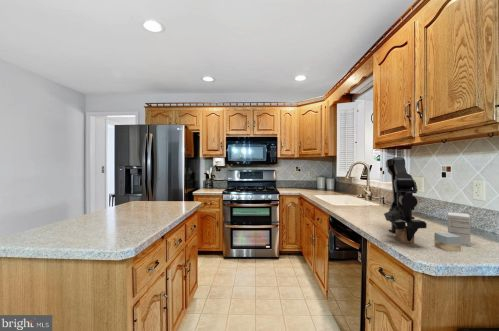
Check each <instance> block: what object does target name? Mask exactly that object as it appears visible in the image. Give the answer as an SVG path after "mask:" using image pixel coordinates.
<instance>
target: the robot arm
mask: <svg viewBox="0 0 499 331" xmlns="http://www.w3.org/2000/svg"><path fill="white" fill-rule="evenodd" d="M385 167H386V168H387V173H388V174H389V175H390V176H391V192H392V203H391V205H390V206H389V209H388V212H384V213H383V215H384V217H385V221H388V222H389V223H391V229H388V231H389V232H390V233H391V232H392V233H393V234H396V229H406V231H407V240H408V241H411V239H412V238H413V236H414V237H415V235H416V233H417V231H418V230H419V229H427V228H428V227H427V226H428V224H427V222H426V221H425V220H421V219H415V216H413V211H415V208H416V207H417V205H418V202H419V201H418V199H417V197H416V196H414V195H413V194H417V193H418V185H417V183H416V181H415V179H414V178H413V176H412V175H411V174H410V173H408V172H407V169H406V159H405V158H404V157H402V156H401V157H400V156H398V157H395V156H394V157H392V158H388V159H386V161H385Z"/></svg>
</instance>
